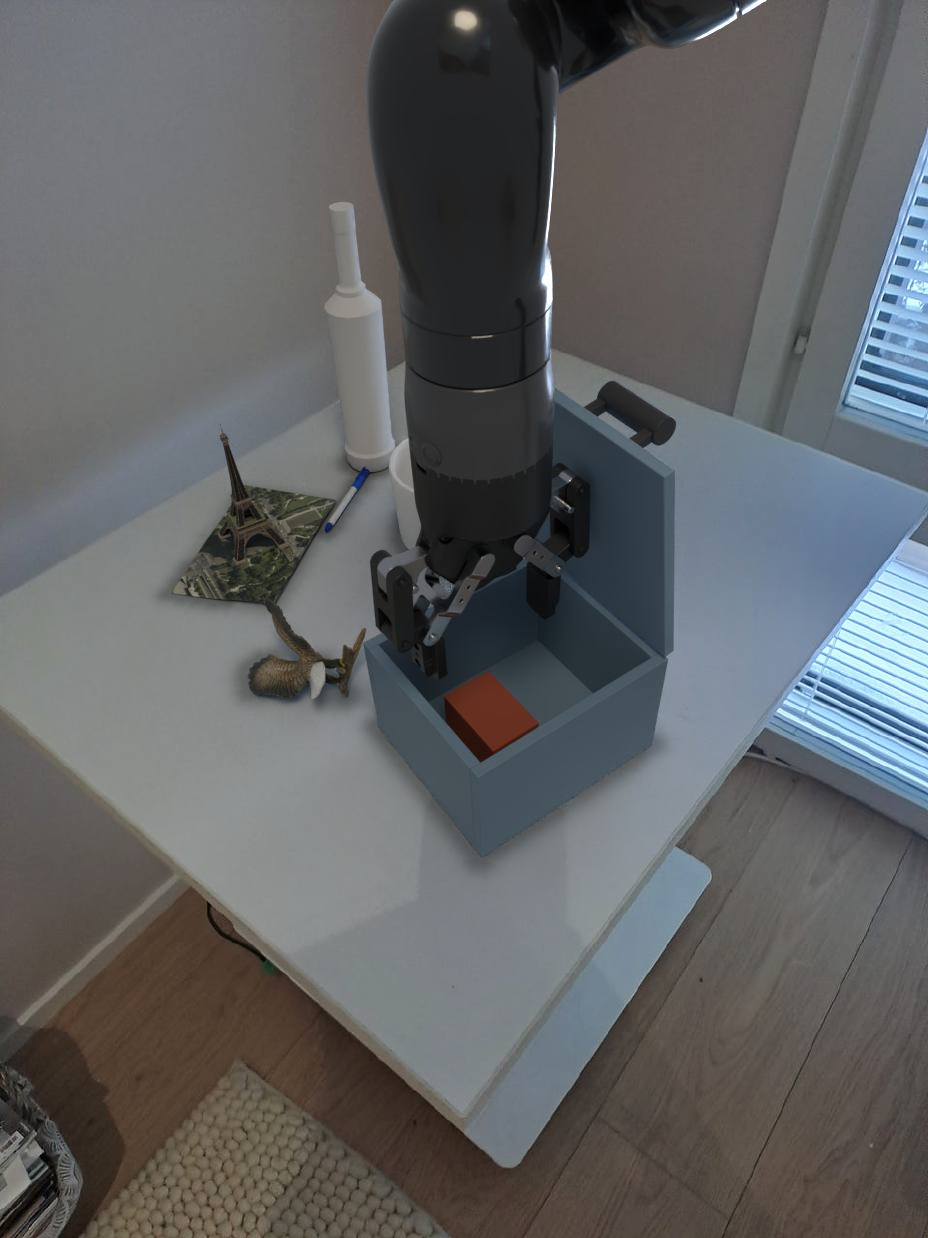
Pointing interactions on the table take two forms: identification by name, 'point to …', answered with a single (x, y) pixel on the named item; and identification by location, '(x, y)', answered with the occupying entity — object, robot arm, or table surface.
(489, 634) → the blue-grey box
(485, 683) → the terracotta brick block
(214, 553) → the eiffel tower figurine
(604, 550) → the box lid
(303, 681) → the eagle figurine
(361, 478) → the ballpoint pen
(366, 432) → the bottle
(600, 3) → the robot arm
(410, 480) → the mug
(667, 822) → the table surface
